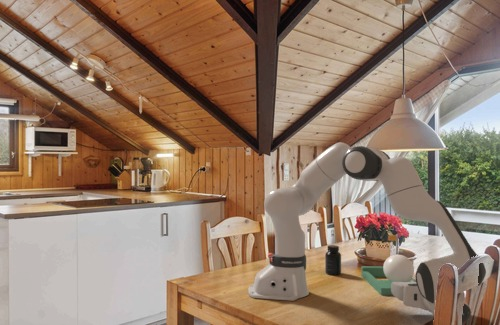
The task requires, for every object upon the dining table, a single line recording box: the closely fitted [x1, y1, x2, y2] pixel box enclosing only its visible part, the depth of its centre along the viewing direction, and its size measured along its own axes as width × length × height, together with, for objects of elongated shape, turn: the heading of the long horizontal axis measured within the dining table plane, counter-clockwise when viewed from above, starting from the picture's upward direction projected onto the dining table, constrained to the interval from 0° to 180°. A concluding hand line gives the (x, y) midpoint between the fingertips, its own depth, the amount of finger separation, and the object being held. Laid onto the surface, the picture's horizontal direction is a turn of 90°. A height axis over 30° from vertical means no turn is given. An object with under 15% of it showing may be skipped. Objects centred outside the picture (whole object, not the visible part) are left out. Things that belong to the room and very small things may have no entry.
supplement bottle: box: [324, 244, 342, 276], centre depth 178 cm, size 7×7×12 cm
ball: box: [383, 254, 415, 282], centre depth 156 cm, size 11×11×11 cm
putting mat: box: [360, 234, 416, 296], centre depth 163 cm, size 17×26×18 cm, turn 1°
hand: (414, 282), depth 140 cm, fingers closed
